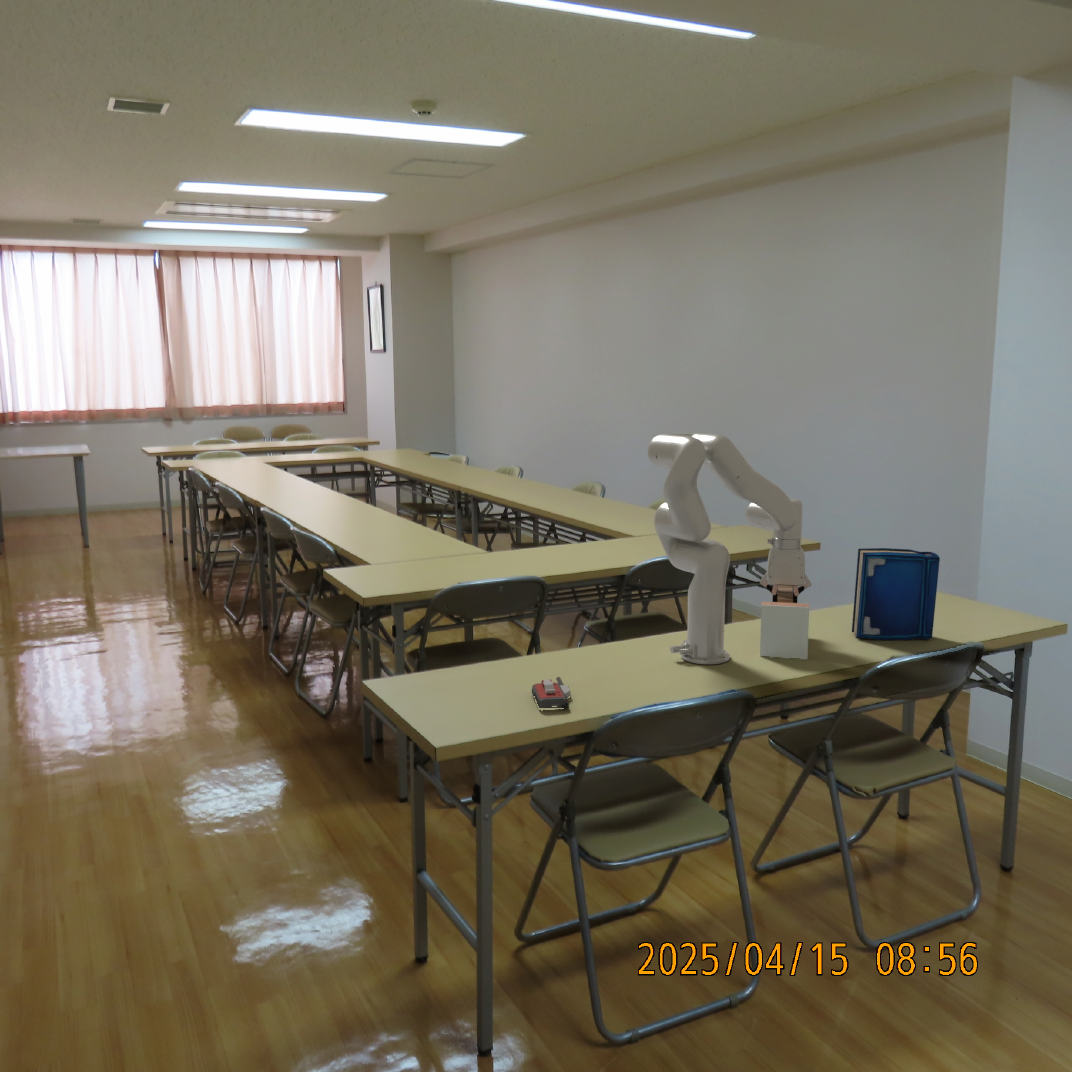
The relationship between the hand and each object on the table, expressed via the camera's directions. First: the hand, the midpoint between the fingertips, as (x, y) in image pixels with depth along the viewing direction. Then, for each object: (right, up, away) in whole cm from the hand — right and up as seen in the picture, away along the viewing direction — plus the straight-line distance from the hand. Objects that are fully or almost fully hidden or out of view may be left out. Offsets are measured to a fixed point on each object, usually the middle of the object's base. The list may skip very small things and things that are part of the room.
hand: (784, 607), depth 257 cm
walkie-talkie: (-66, -18, -40) cm, 79 cm away
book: (+31, -9, +3) cm, 33 cm away
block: (0, 0, 0) cm, 0 cm away
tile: (-4, -12, -12) cm, 17 cm away
